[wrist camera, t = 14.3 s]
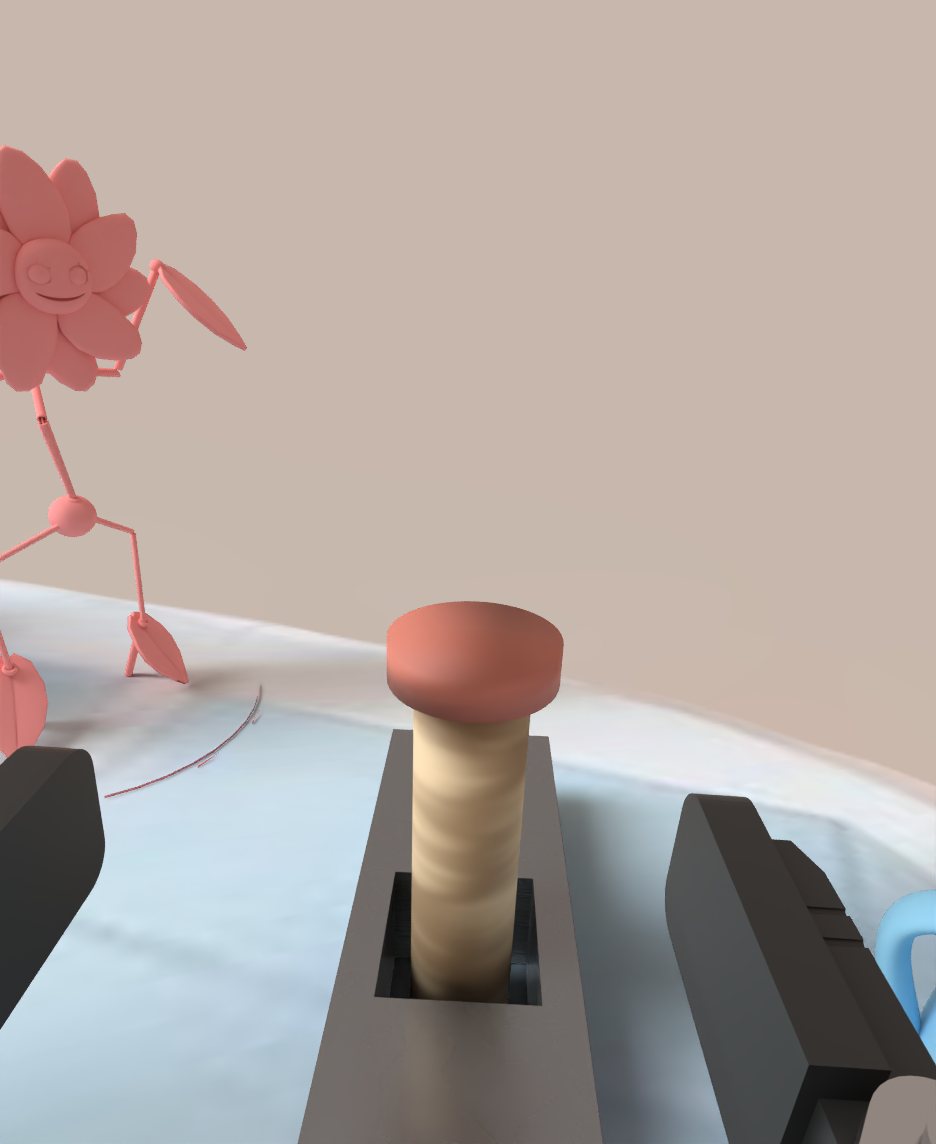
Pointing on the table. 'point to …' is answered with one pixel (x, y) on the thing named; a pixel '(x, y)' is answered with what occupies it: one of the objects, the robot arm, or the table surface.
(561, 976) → the bar
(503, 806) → the oak pin
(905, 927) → the decorative pot
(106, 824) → the table surface
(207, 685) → the table surface
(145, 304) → the figurine
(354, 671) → the table surface
